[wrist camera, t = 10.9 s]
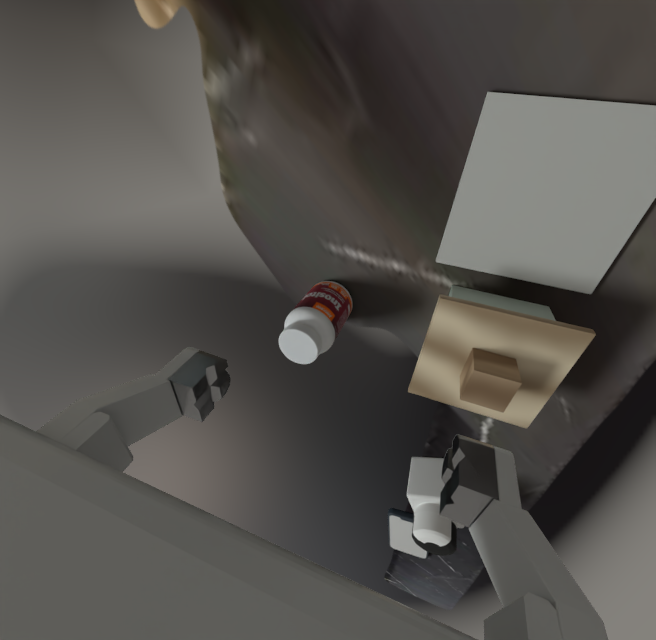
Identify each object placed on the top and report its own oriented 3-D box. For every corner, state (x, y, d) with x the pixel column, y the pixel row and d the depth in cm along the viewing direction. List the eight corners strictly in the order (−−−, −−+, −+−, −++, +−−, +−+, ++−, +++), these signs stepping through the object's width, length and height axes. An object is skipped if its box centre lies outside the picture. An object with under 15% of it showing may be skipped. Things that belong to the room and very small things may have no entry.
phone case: (428, 552, 69) (432, 517, 61) (428, 561, 68) (432, 526, 60) (389, 539, 73) (388, 504, 64) (388, 547, 71) (386, 512, 63)
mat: (487, 92, 25) (488, 91, 25) (708, 110, 22) (713, 110, 22) (436, 259, 34) (435, 261, 34) (589, 291, 31) (591, 294, 30)
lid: (439, 294, 30) (437, 316, 26) (592, 329, 27) (612, 360, 23) (408, 387, 37) (403, 414, 34) (525, 422, 34) (533, 456, 31)
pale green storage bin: (452, 284, 35) (451, 310, 30) (548, 306, 33) (564, 338, 28) (428, 351, 41) (424, 382, 36) (509, 373, 38) (516, 409, 34)
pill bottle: (356, 284, 39) (327, 331, 30) (351, 323, 43) (323, 376, 34) (311, 274, 41) (271, 317, 32) (309, 313, 44) (273, 361, 35)
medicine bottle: (464, 485, 52) (465, 566, 43) (421, 481, 56) (414, 556, 46) (455, 457, 49) (454, 537, 40) (411, 455, 53) (401, 528, 43)
